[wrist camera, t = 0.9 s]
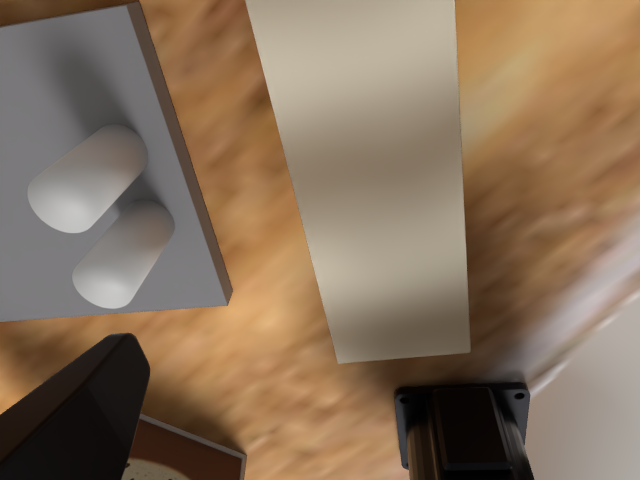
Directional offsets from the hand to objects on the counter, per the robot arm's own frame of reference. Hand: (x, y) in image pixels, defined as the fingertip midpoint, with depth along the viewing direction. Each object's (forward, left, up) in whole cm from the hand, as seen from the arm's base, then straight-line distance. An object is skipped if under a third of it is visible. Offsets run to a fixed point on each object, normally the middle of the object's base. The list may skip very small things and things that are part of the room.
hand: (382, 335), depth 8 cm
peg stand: (-1, +15, -11) cm, 18 cm away
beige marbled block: (0, 0, -11) cm, 11 cm away
